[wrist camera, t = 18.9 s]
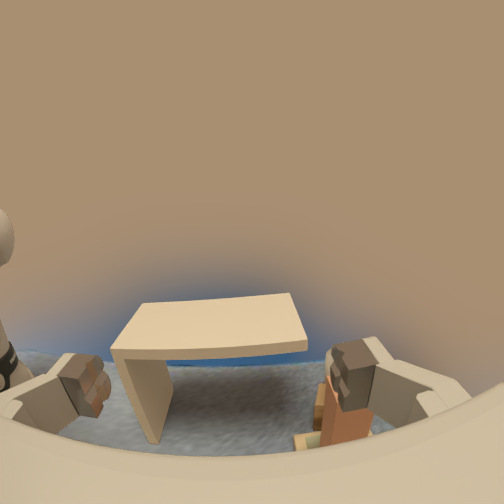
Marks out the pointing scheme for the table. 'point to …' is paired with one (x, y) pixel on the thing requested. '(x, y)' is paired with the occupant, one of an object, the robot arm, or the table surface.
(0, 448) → the robot arm
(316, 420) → the oak block
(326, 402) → the pillar
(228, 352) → the folded cream panel
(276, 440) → the table surface
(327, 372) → the cream cylinder
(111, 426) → the table surface
